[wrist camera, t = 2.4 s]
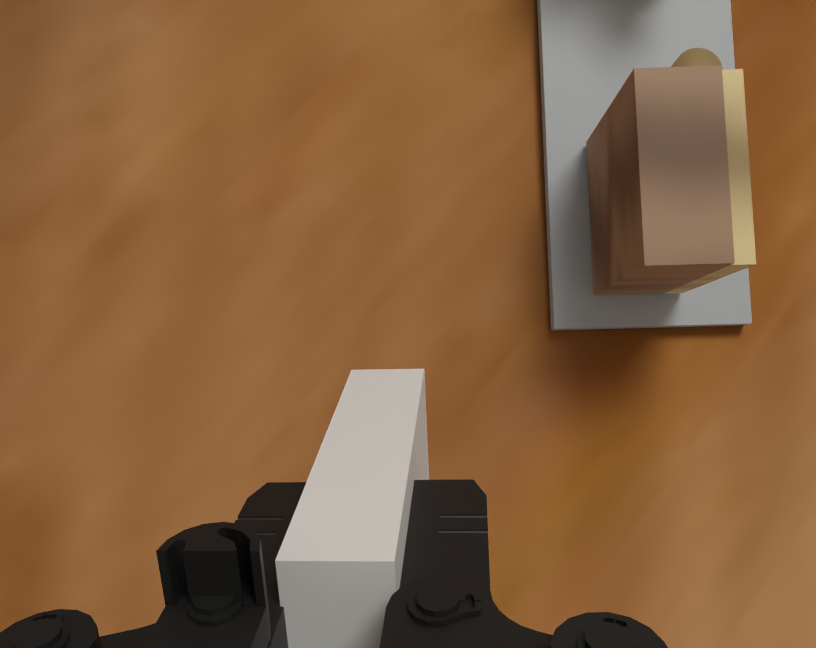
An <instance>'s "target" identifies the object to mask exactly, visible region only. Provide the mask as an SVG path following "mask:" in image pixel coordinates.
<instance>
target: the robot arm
mask: <svg viewBox="0 0 816 648" xmlns="http://www.w3.org/2000/svg"><path fill="white" fill-rule="evenodd" d="M156 552H157V558H158V564H159V570H160V576H161V582H162V588H163V593H164V599H165V605H166V606H165V608H164V610H163V612H162V613H161V615H160V617H159V619H158V620H157V622H156V623H155V624H152V625H149V626H145V627H142V628H138V629H134V630H129V631H124V632H120V633H115V634H110V635H105V636H101V637H99V633H98V628H97V625H96V624H95V622H94V620H93V619H92V617H91V616H90V615H88V614H85V613H83V612H81V611H78V610H64V609H57V610H53V611H48V612H42V613H38V614H35V615H33V616H30V617H28V618H25V619H23V620H20V621H18V622H16V623H14V624H13V625H11V626H10V627H8V628H7V629H5V630H4V631H2V632H1V633H0V648H668V647H667V646H666V644H665V643H664V641H663V640H662V639H661V638H660V637H659V636H658V635H657V634H656V633H655V632H654V631H653V630H652V629H651V628H650V627H648V626H646V625H644V624H642V623H640V622H638V621H636V620H634V619H632V618H630V617H626V616H622V615H618V614H614V613H609V612H596V613H584V614H581V615H578V616H575V617H571V618H569V619H567V620H566V621H565V622H564V623H562V624H561V625H560V626H559V627H557V628H556V629H555V632H554V634H553V635H550V634H546V633H542V632H538V631H535V630H532V629H529V628H526V627H523V626H521V625H519V624H517V623H515V622H514V621H512V620H510V619H508V618H507V617H506V616H505V615H504V614H503V613H502V612H501V611H499V610H498V608H497V606H496V605H495V603H494V602H493V600H492V596H491V592H490V575H489V550H488V524H487V499H486V495H485V493H484V492H483V491H482V490H481V488H480V487H479V486H478V485H477V484H476V482H475V481H474V480H429V467H428V444H427V420H426V397H425V374H424V369H381V370H351V372H350V375H349V377H348V380H347V382H346V385H345V387H344V390H343V392H342V395H341V397H340V400H339V402H338V405H337V407H336V410H335V412H334V415H333V417H332V420H331V422H330V425H329V427H328V430H327V432H326V435H325V437H324V440H323V442H322V445H321V447H320V450H319V452H318V455H317V457H316V460H315V462H314V465H313V467H312V470H311V472H310V475H309V477H308V480H307V482H293V483H266V484H265V485H264V486H263V487H261V488H260V489H259V490H257V491H256V492H255V493H254V494H252V495H251V496H250V497H248V498H247V500H246V502H245V504H244V506H243V508H242V510H241V512H240V513H239V515H238V520H236V521H235V523H228V522H218V523H209V524H202V525H199V526H196V527H193V528H189V529H186V530H184V531H182V532H180V533H178V534H176V535H175V536H173V537H171V538H169V539H168V540H167V541H166V542H165V543H164V544H163V545H162V546H161V547H160V548H159V549H158V550H157V551H156Z"/></svg>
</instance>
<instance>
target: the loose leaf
mask: <svg viewBox="0 0 816 648" xmlns="http://www.w3.org/2000/svg"><path fill="white" fill-rule="evenodd" d="M586 148H587V169H588V190H589V211H590V232H591V253H592V274H593V295H594V296H599V295H637V294H674V293H685V292H687V291H690V290H692V289H695V288H697V287H700V286H702V285H705V284H707V283H710V282H713V281H715V280H718V279H720V278H723V277H725V276H728V275H730V274H733V273H735V272H738V271H740V270H743V269H745V268H748V267H750V266H753V265H755V264H756V255H755V240H754V226H753V211H752V196H751V181H750V167H749V152H748V137H747V123H746V108H745V93H744V78H743V69H726V70H723V67H722V64H721V62H720V60H719V58H718V57H717V56H716V55H715V54H714V53H713V52H711V51H709V50H707V49H704V48H692V49H688V50H686V51H685V52H683V53H682V54H681V55H680V56H679V57H678V58H677V60H676V61H675V62H674V64H673V65H672V66H671V67H658V68H634V69H633V70H632V72H631V74H630V75H629V77H628V78H627V80H626V81H625V83H624V84H623V86H622V87H621V89H620V91H619V92H618V94H617V95H616V97H615V98H614V100H613V101H612V103H611V104H610V106H609V108H608V109H607V111H606V112H605V114H604V115H603V117H602V118H601V120H600V121H599V123H598V125H597V126H596V128H595V129H594V131H593V132H592V134H591V135H590V137H589V138H588V140H587V142H586Z"/></svg>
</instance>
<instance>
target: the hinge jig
mask: <svg viewBox="0 0 816 648" xmlns="http://www.w3.org/2000/svg"><path fill="white" fill-rule="evenodd" d="M537 11H538V35H539V58H540V82H541V106H542V129H543V153H544V176H545V200H546V224H547V247H548V271H549V295H550V318H551V330H583V329H621V328H660V327H698V326H736V325H747V324H752V316H751V301H750V286H749V271H748V268H745V269H743V270H740V271H738V272H735V273H733V274H730V275H728V276H725V277H723V278H720V279H718V280H715V281H713V282H710V283H707V284H705V285H702V286H700V287H697V288H695V289H692V290H690V291H687V292H685V293H674V294H637V295H599V296H594V295H593V274H592V253H591V232H590V211H589V190H588V169H587V148H586V142H587V140H588V138H589V137H590V135H591V134H592V132H593V131H594V129H595V128H596V126H597V125H598V123H599V121H600V120H601V118H602V117H603V115H604V114H605V112H606V111H607V109H608V108H609V106H610V104H611V103H612V101H613V100H614V98H615V97H616V95H617V94H618V92H619V91H620V89H621V87H622V86H623V84H624V83H625V81H626V80H627V78H628V77H629V75H630V74H631V72H632V70H633V69H634V68H658V67H671V66H672V65H673V64H674V62H675V61H676V60H677V58H678V57H679V56H680V55H681V54H682V53H683V52H685V51H686V50H688V49H692V48H704V49H707V50H709V51H711V52H713V53H714V54H715V55H716V56H717V57H718V58H719V60H720V62H721V64H722V67H723V70H726V69H735V62H734V47H733V33H732V18H731V3H730V0H537Z"/></svg>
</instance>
